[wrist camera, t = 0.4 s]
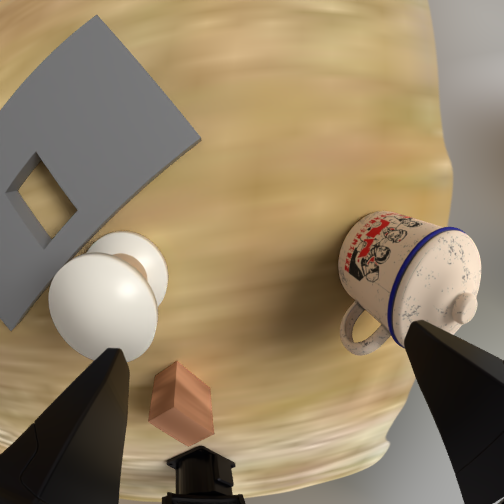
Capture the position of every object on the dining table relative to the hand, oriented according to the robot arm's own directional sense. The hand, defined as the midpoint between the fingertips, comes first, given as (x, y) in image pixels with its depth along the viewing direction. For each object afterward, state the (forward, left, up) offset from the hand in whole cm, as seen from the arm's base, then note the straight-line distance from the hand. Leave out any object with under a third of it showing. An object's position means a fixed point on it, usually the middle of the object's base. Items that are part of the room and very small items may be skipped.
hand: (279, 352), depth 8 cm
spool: (-8, +3, -15) cm, 17 cm away
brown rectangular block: (-12, -8, -15) cm, 21 cm away
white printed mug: (+8, -10, -15) cm, 20 cm away
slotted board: (-9, +14, -15) cm, 22 cm away
